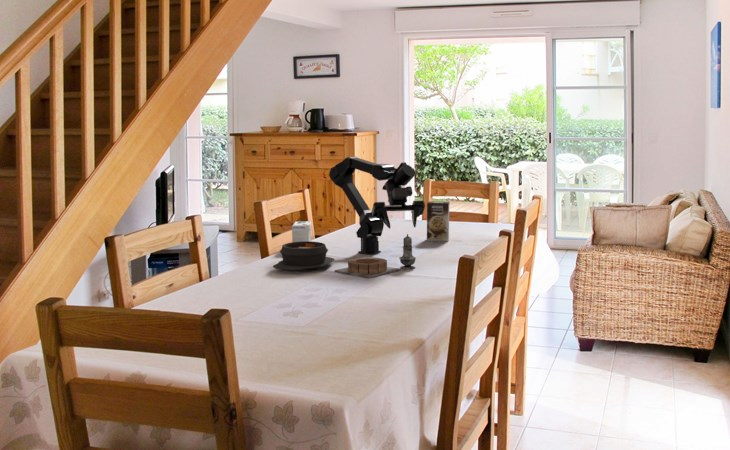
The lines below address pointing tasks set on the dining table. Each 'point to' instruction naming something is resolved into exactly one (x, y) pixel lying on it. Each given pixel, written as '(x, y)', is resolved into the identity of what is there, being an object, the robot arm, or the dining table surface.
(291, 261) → the casserole
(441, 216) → the coffee box
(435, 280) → the dining table surface
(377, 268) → the walnut collar
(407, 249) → the salt shaker
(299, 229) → the light bulb box
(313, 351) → the dining table surface
